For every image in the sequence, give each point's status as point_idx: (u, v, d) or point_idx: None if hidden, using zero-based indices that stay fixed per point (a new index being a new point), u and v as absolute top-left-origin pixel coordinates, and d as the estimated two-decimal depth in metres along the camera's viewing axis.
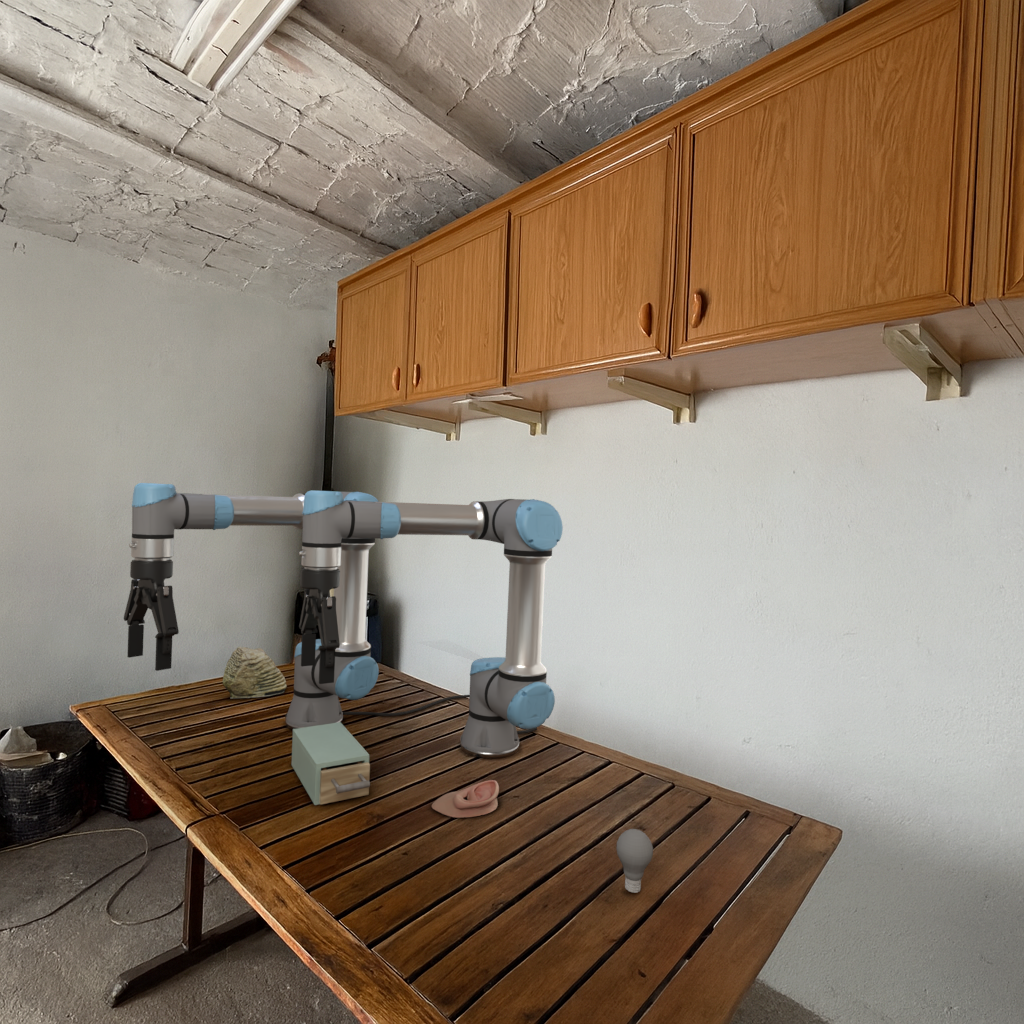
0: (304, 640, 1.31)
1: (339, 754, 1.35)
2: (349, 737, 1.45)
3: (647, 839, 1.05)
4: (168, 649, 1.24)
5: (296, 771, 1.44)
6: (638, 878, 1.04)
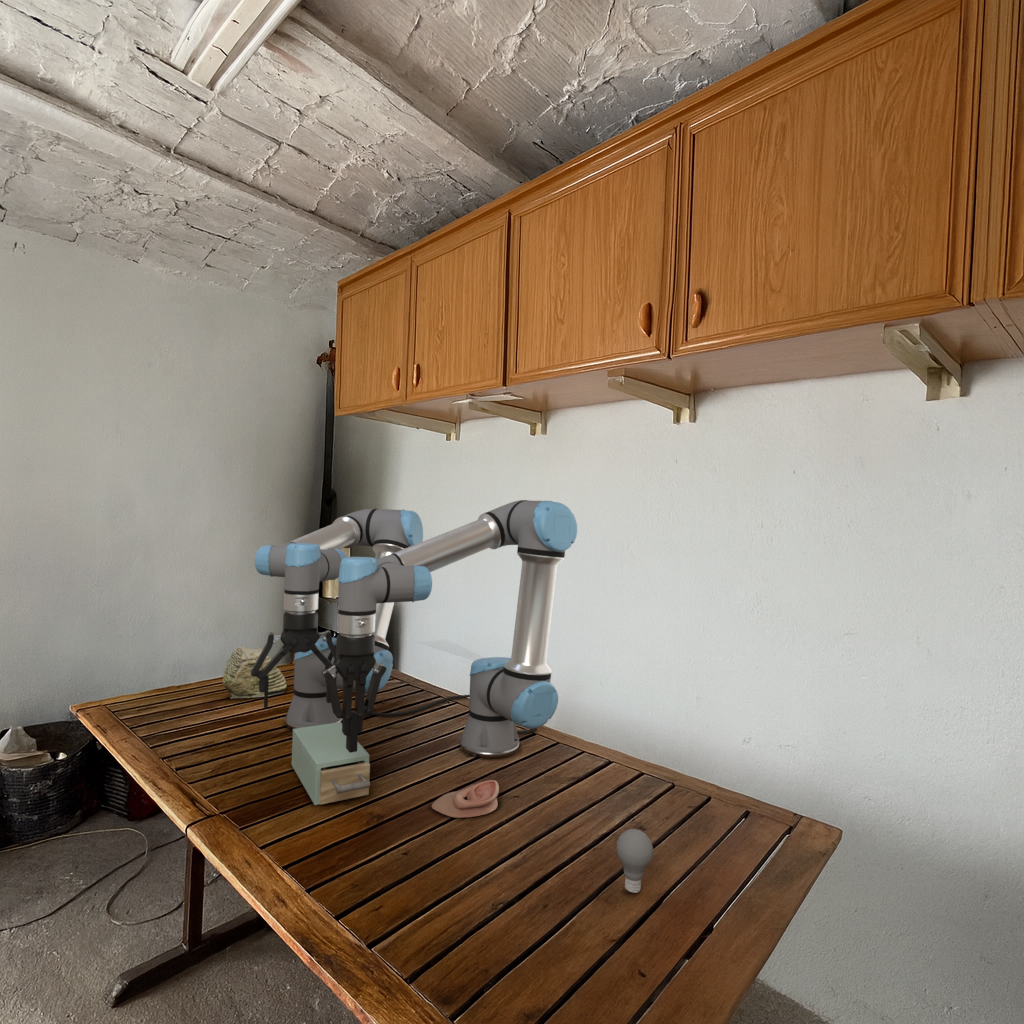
0: None
1: (339, 754, 1.35)
2: None
3: (647, 839, 1.05)
4: None
5: (296, 771, 1.44)
6: (638, 878, 1.04)
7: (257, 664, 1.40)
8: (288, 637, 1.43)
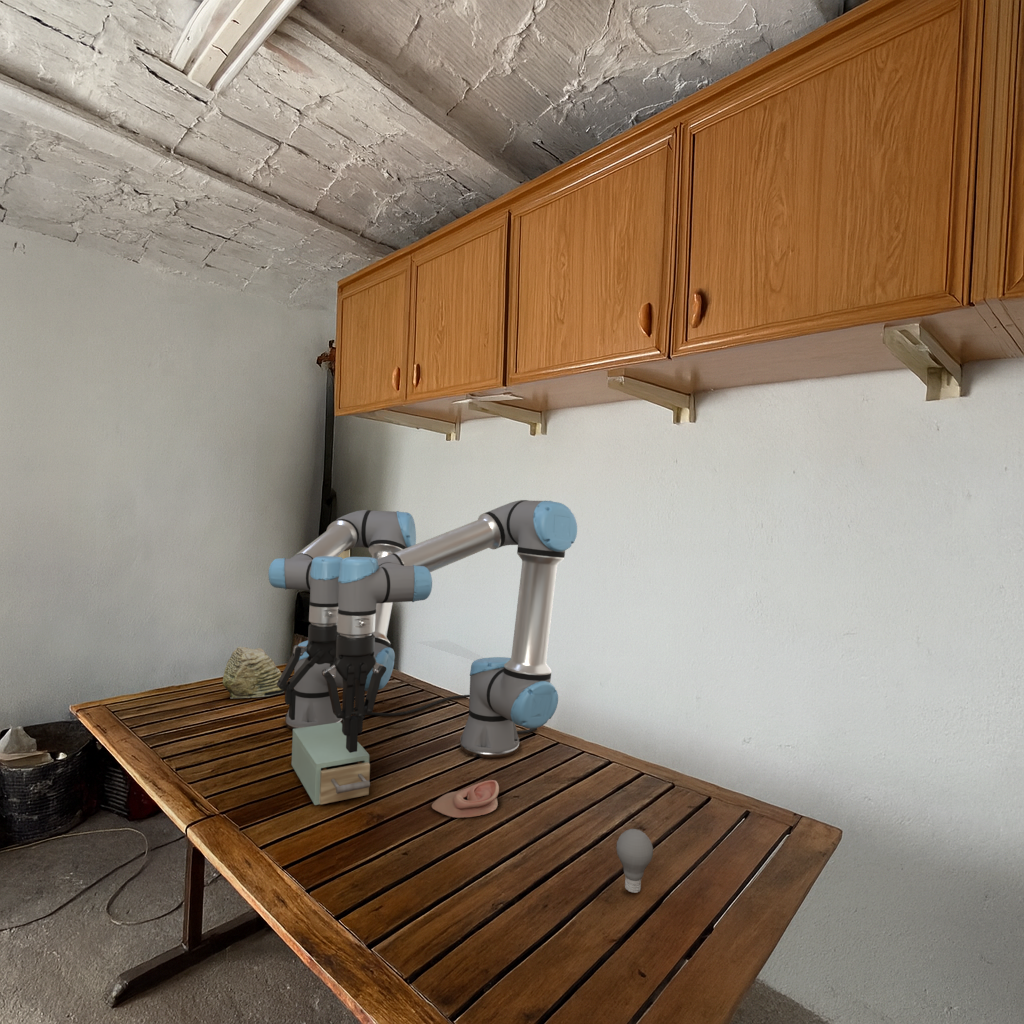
0: None
1: (339, 754, 1.35)
2: None
3: (647, 839, 1.05)
4: None
5: (296, 771, 1.44)
6: (638, 878, 1.04)
7: (285, 677, 1.42)
8: (314, 649, 1.45)
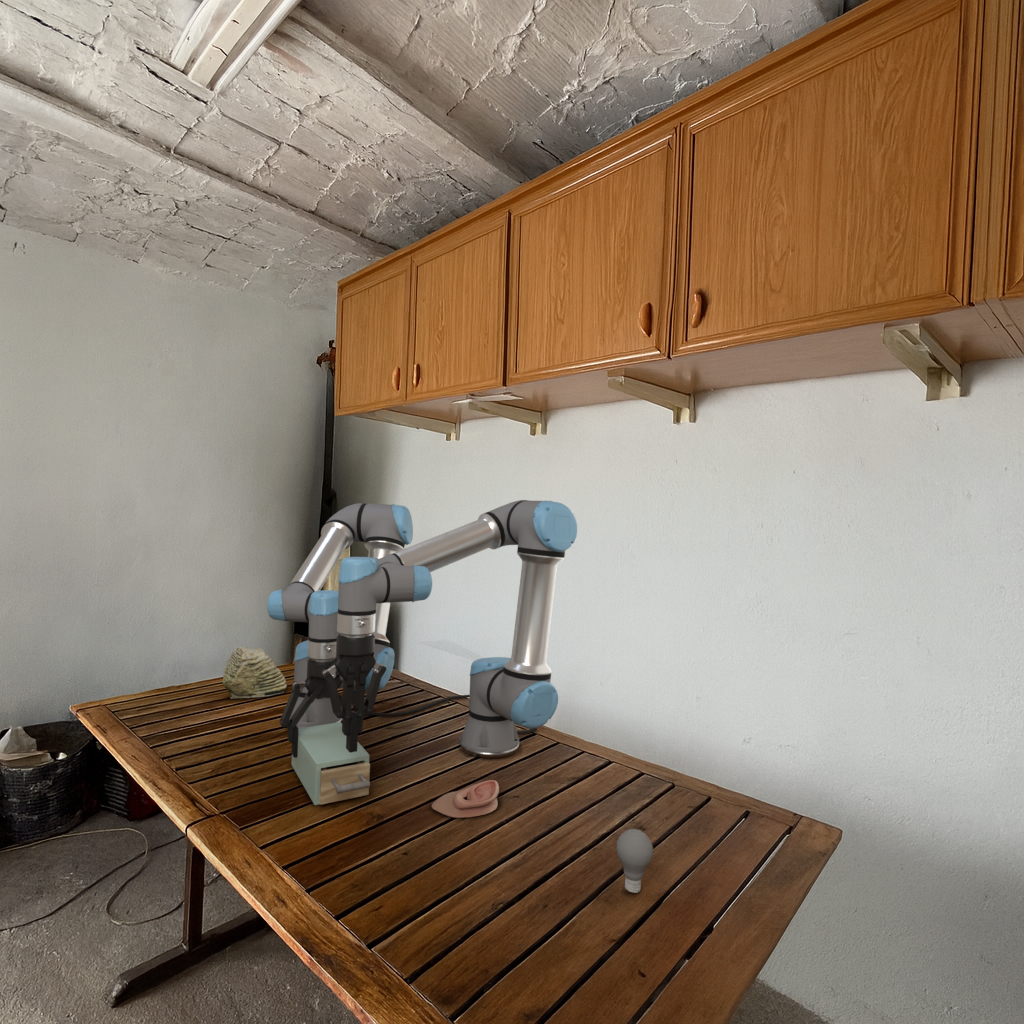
0: None
1: (339, 754, 1.35)
2: None
3: (647, 839, 1.05)
4: None
5: (296, 771, 1.44)
6: (638, 878, 1.04)
7: (286, 715, 1.42)
8: (313, 684, 1.45)
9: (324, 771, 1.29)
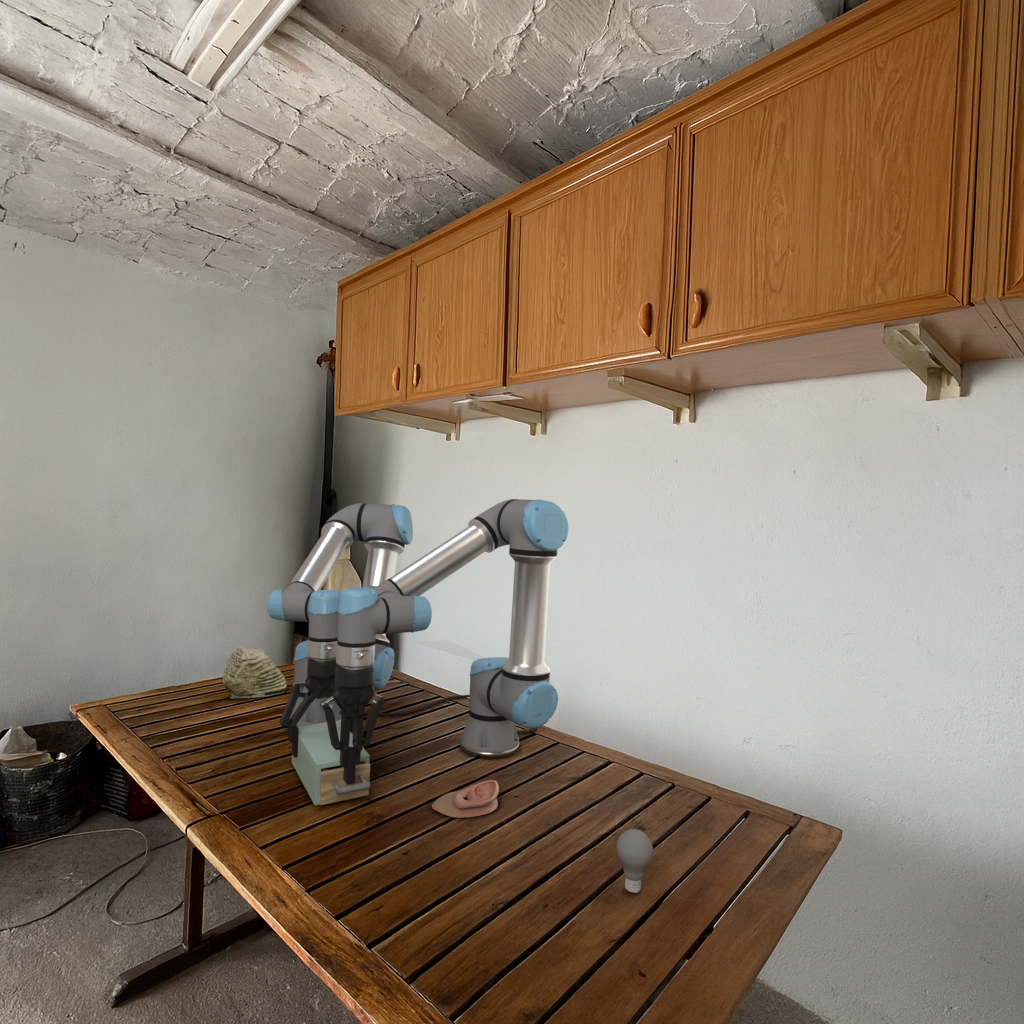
0: None
1: None
2: None
3: (647, 839, 1.05)
4: None
5: (296, 769, 1.44)
6: (638, 878, 1.04)
7: (287, 714, 1.42)
8: (313, 684, 1.45)
9: (324, 772, 1.29)
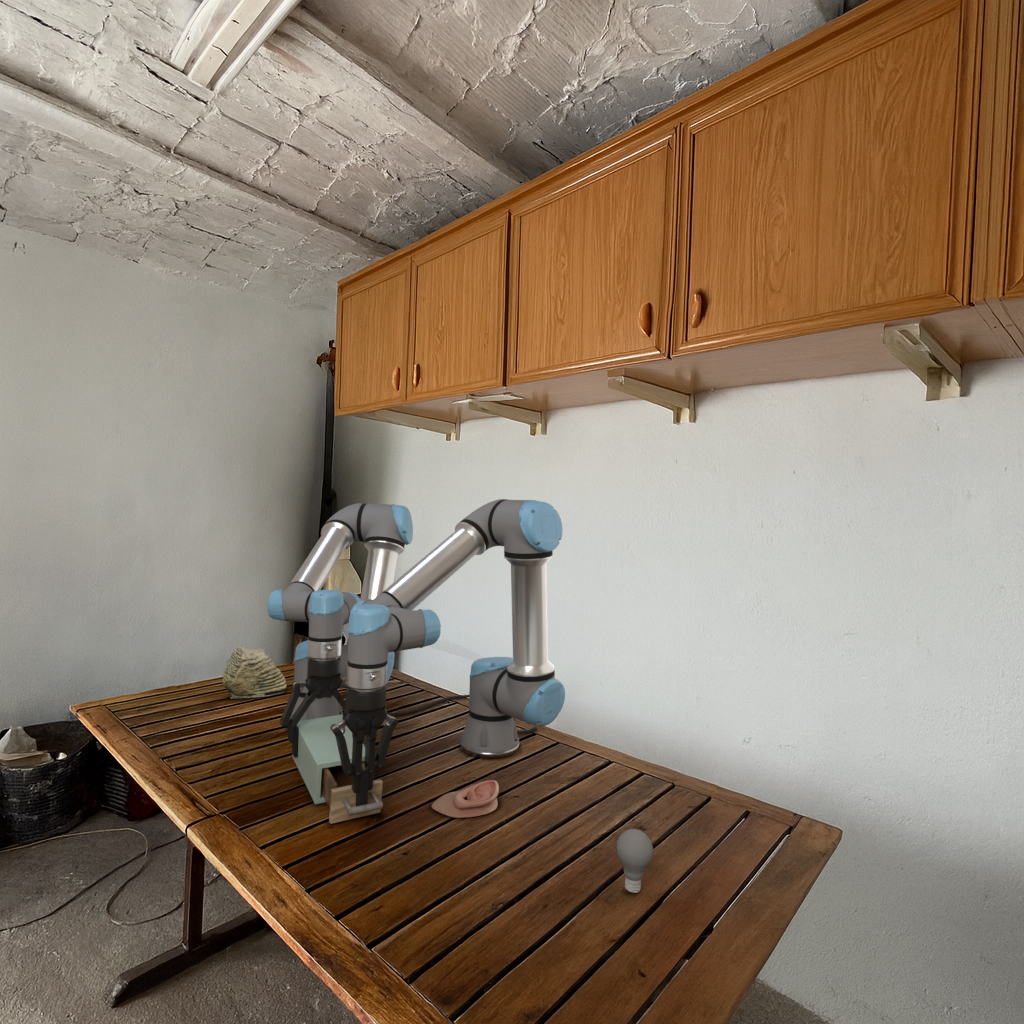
0: None
1: None
2: (350, 733, 1.44)
3: (647, 839, 1.05)
4: None
5: (297, 764, 1.44)
6: (638, 878, 1.04)
7: (287, 714, 1.42)
8: (313, 683, 1.45)
9: (335, 790, 1.22)
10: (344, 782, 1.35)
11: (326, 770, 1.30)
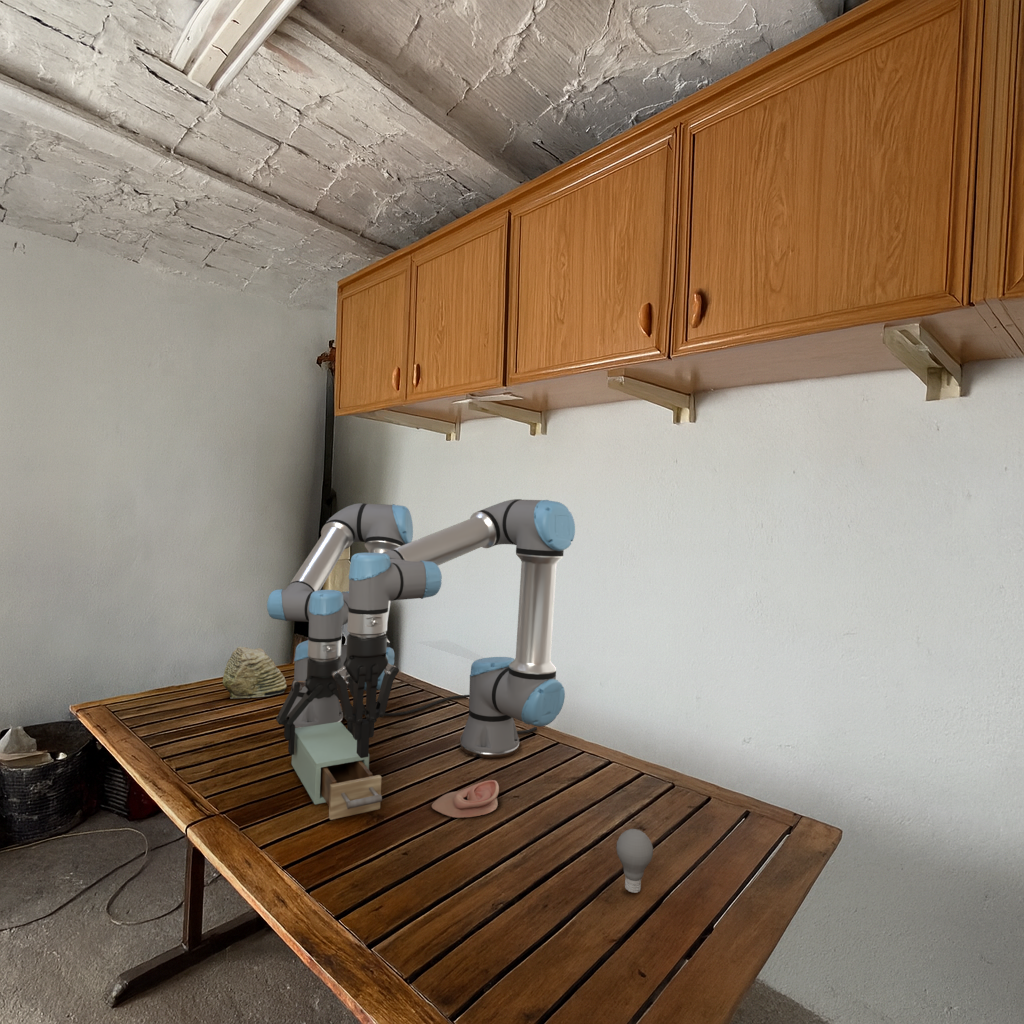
0: None
1: (339, 753, 1.35)
2: (349, 737, 1.45)
3: (647, 839, 1.05)
4: None
5: (296, 770, 1.44)
6: (638, 878, 1.04)
7: (284, 712, 1.42)
8: (313, 684, 1.45)
9: (334, 785, 1.23)
10: None
11: (325, 769, 1.31)
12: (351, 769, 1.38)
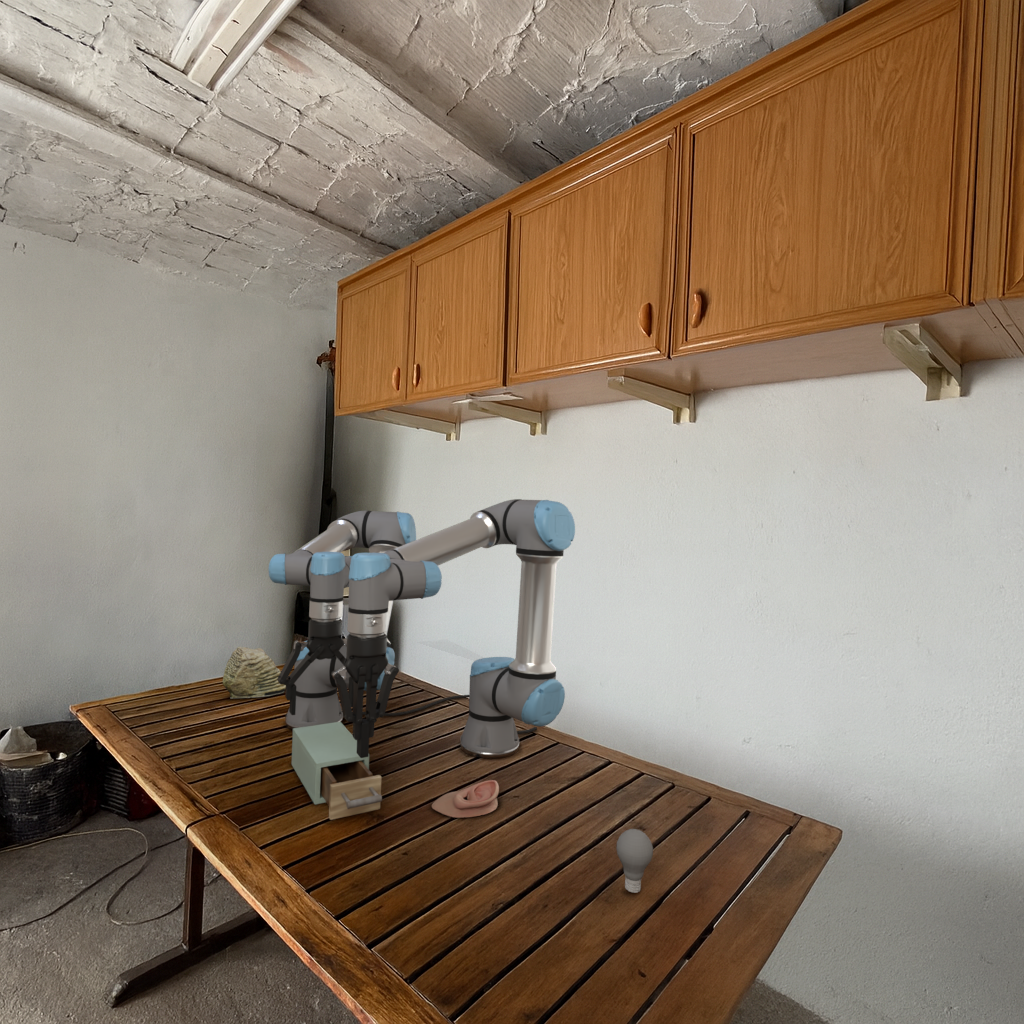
0: None
1: (339, 753, 1.35)
2: (349, 737, 1.45)
3: (647, 839, 1.05)
4: None
5: (296, 770, 1.44)
6: (638, 878, 1.04)
7: (285, 672, 1.42)
8: (315, 644, 1.45)
9: (334, 785, 1.23)
10: None
11: (325, 769, 1.31)
12: (351, 769, 1.38)
